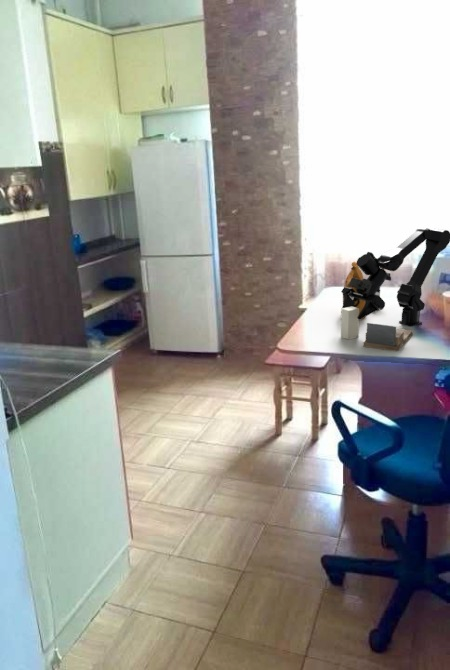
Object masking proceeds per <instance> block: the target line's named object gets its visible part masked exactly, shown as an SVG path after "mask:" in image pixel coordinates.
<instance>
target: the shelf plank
mask: <svg viewBox="0 0 450 670" xmlns="http://www.w3.org/2000/svg"><path fill="white" fill-rule="evenodd" d="M412 336H413V330H410V329H402V328H396V344H395V346H389V345H382V344H374V343H367V332H366V333H365V339H364V342H362V344H363V347H365V348H366V347H367V348H372V349H379V350H380V349H381V350H386V349H387V350H386V351H393V352H394V351H395V352H398V351H399V350H400V349H401V348H402V346H404V344H405V343H406V342H407V341H408V340H409V339H410V338H411V337H412Z"/></svg>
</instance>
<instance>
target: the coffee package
mask: <svg viewBox="0 0 450 670" xmlns="http://www.w3.org/2000/svg"><path fill="white" fill-rule="evenodd" d="M351 278H355V279H359V280H363V279H364V275H363V271H362V270H361V269H360V268H359V267H358V266H357V261H353V262H351V268H350V271H349V273H348V275H346V277H345V280H344V286H343V288H344V287H349V288H353V290H354V291H355V292H356V293H358V292H357V291H356V290H355V288H354V287H352V286H349V283H350V281H351ZM343 303H344V296H343V295H342V304H343ZM364 306H365V301H364V300H361V299H358V300H357V301H355V304H354V305H353V307H356V308H359V314H360V312H361V311H362V309H363V307H364ZM364 318H365V317H363V318H361V319H360V320H363V319H364Z"/></svg>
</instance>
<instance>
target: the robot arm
mask: <svg viewBox="0 0 450 670" xmlns="http://www.w3.org/2000/svg"><path fill="white" fill-rule="evenodd" d="M424 242H425V250H424V252H423V254H422V256H421V258H420V260H419V261H418V263H417V265H416V267H415V270H414V271H413V273H412V275H411V277H410V279H409V281H408V282H406V283H401V285H400V287H399V289H398V290H397V292H396V299H397V302H398V306H399V307H400V308H402V312H401V320H399V321H398V323H400V324H403V325H405V326H409V327H412V326H417V325H421V324H423V321H420V315H421V312H422V310H424V309H425V307H426V304H425V302H424V301H423V300H422V299H421V298H422V286H423V284H424V283H425V280H426V278H427V276H428V274H429V272H430V270H431V269H432V266H433V265H434V263H435V261H436V259H437V256H438V255H439V253H442V252H443V251H444V250H445V249H446V248H447V247H448V246H449V244H450V230H448V229H447V230H446V229H439V228H433V229H430V228H425V227H419V228H418V227H417V229H416V230H415V232H413V234H411V235H410V236H409V237H407V238H406V239H405V240H404V241H403V242H402V243H400V244H399V245H398V246H397V247H396V248H394V249H391V250H388V251H386V252H384V253H382V254H381V255H380V256H379V257H375V255H374V253H373V252H371V251H367V252H366V253H365V254H363V255H361V256H360V257H358V259H357V260H356V263H357V266H358V267H359V269H360V270H361V272H362V273H364V275H366V276H368V277H367V278H363V280H359V279H355V278H351V281H350V283H349V286H352V287H354V288H355V290H356V291H357V292H358V293H356V292H355V291H354V290H353V288H349V287H344V286H343V289H341V291H340V292H341V294H342V297H343V296H344V303H343V302H342V308H346V307H351V306H353V305H354V304H355V301H357V300H358V299H361V300H364V301H365V306H364V307H363V309H362V311H361V312H360V314H359V315H358V317H357V318H358V319H359V321H360V320H362V319H361V318H363V317H364V318H365V317H366V316H368V315H370V314H372V313H375V312H378V311H380V310H381V311H383V310H384V308H385V307H386V302H385V300H383V298H382V297H381V295H380V296H379V295H375V294H376V292H378V293H379V292H380V293H381V287H382V285H383V284H384V282H385V281H388V282H391V281H392V276H391V273H390V272H395V271H397V270H398V269H399V268H400V267H401V266H403V263H404V260H405V258H406V257H407V256H408V255H410V254H411V253H412V252H413V251H414V250H416V249H417V248H418V247H419V246H420V245H422V243H424ZM387 271H389V272H387ZM379 288H380V289H379ZM364 318H363V319H364Z"/></svg>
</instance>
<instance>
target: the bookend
mask: <svg viewBox="0 0 450 670" xmlns="http://www.w3.org/2000/svg"><path fill="white" fill-rule="evenodd" d="M396 329H397V326H396V325H387V324H378V323H372V322H371V323H369V322H367V323H366V333H367V343H374V344H382V345H389V346H395V344H396Z"/></svg>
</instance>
